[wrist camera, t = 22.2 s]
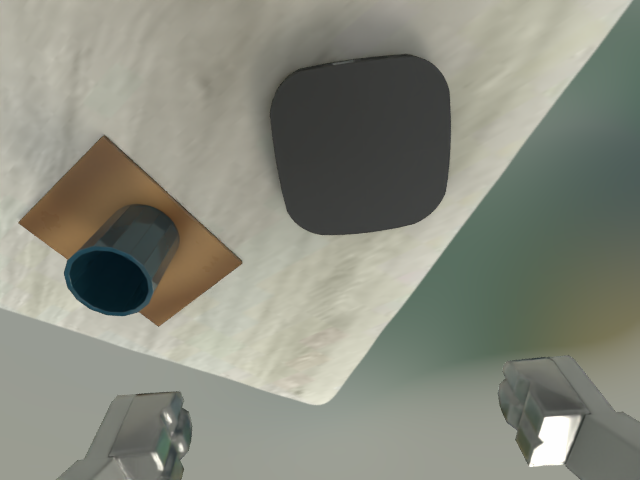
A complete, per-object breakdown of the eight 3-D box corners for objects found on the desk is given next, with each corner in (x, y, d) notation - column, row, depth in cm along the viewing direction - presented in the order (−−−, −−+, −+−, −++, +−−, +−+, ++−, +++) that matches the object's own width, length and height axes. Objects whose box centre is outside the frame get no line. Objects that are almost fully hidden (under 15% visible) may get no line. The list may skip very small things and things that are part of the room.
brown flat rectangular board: (20, 221, 38) (17, 222, 38) (104, 135, 35) (102, 136, 34) (159, 324, 45) (158, 326, 45) (242, 261, 41) (242, 263, 41)
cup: (93, 231, 39) (46, 278, 32) (138, 189, 37) (99, 230, 30) (149, 276, 41) (117, 328, 34) (194, 239, 39) (170, 287, 32)
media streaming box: (291, 228, 40) (290, 243, 37) (263, 71, 33) (260, 75, 30) (438, 210, 39) (448, 224, 37) (443, 46, 32) (455, 49, 29)
